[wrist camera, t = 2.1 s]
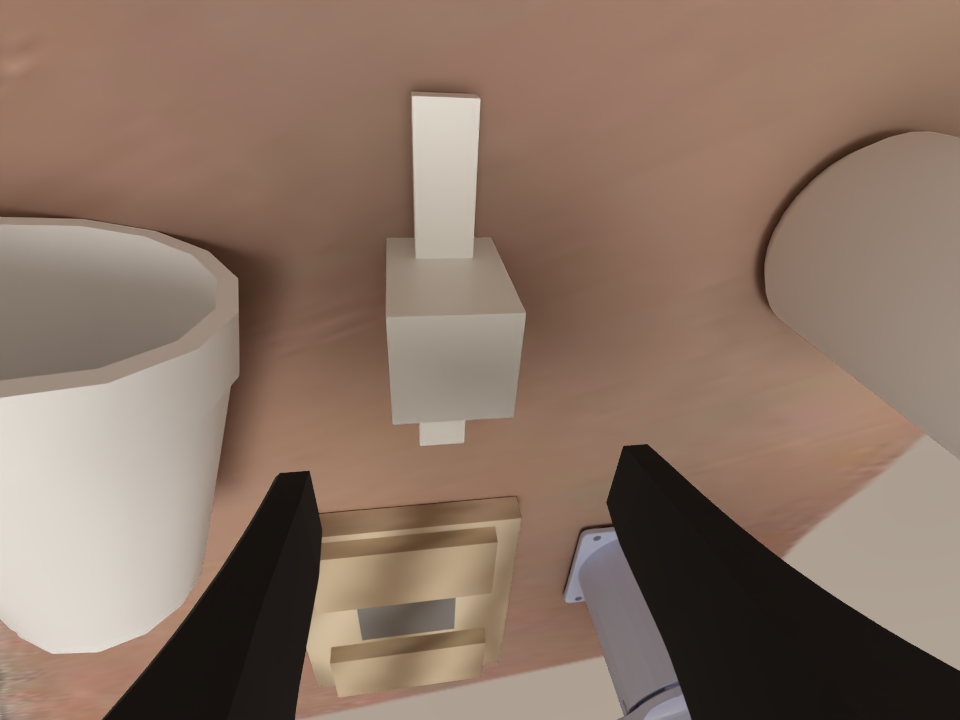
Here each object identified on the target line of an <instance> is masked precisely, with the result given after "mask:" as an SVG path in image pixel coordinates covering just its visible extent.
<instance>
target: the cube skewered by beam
mask: <svg viewBox="0 0 960 720" xmlns="http://www.w3.org/2000/svg"><path fill="white" fill-rule="evenodd" d="M479 118H480V98H479V97H478V96H477V95H476V94H459V93H435V92H411V125H412V167H413V208H414V238H387V244H386V328H387V344H388V359H389V374H390V390H391V405H392V421H393V425H397V424H413V423H419V439H420V446H426V445H441V444H455V443H464V433H465V420H477V419H493V418H509V417H514V409H515V401H516V392H517V384H518V376H519V368H520V360H521V351H522V343H523V335H524V327H525V319H526V312H525V309H524V307H523V305H522V303H521V301H520V299H519V297H518V294H517V292H516V290H515V288H514V286H513V284H512V281H511V279H510V277H509V275H508V273H507V271H506V268H505V266H504V264H503V262H502V260H501V258H500V255H499V253H498V251H497V249H496V247H495V245H494V242H493V240H492V238H491V237H474V223H475V202H476V181H477V160H478V139H479Z"/></svg>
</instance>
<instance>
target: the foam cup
mask: <svg viewBox="0 0 960 720" xmlns="http://www.w3.org/2000/svg"><path fill="white" fill-rule="evenodd" d="M238 377H239V294H238V278H237V277H236V276H235V275H234V274H233V273H232V272H231V271H230V270H229V269H227V268H226V267H225V266H224V265H223V264H222V263H221V262H220V261H219V260H218V259H216V258H215V257H214V256H213V255H212V254H211V253H210V252H209V251H207V250H204V249H202V248H199V247H196V246H194V245H191V244H189V243H186V242H183V241H181V240H178V239H175V238H173V237H170V236H168V235H165V234H162V233H160V232H157V231H153V230H147V229H141V228H135V227H129V226H123V225H117V224H111V223H105V222H99V221H93V220H87V219H65V218H22V217H0V619H1V620H2V621H3V622H4V623H5V624H6V625H7V626H8V627H9V628H10V629H11V630H13V631H15V632H17V634H18V636H19V637H20V638H22V639H24V640H26V641H28V642H30V643H32V644H34V645H36V646H38V647H40V648H42V649H44V650H46V651H48V652H50V653H52V654H56V653H86V652H100V651H103V650H106V649H108V648H111V647H113V646H116V645H118V644H121V643H123V642H126V641H129V640H131V639H134V638H136V637H139V636H141V635H144V634H146V633H148V632H149V631H150V630H151V629H153V628H154V627H155V626H156V625H158V624H159V623H160V622H161V621H163V620H164V619H165V618H166V617H168V616H169V615H170V614H171V613H173V612H174V611H175V610H176V609H178V608H179V607H180V606H181V605H183V603H184V601H185V600H186V598H187V596H188V595H189V593H190V592H191V590H192V588H193V587H194V585H195V583H196V582H197V580H198V578H199V577H200V575H201V573H202V566H203V564H204V559H205V552H206V546H207V539H208V533H209V526H210V520H211V513H212V507H213V500H214V493H215V487H216V480H217V474H218V467H219V461H220V454H221V448H222V441H223V434H224V428H225V421H226V415H227V408H228V402H229V395H230V389H231V385H232V384H233V383H234V382H235V381H236V379H237V378H238Z"/></svg>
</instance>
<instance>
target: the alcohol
mask: <svg viewBox="0 0 960 720" xmlns="http://www.w3.org/2000/svg"><path fill="white" fill-rule="evenodd" d="M764 274H765V289H766V296H767V299H768V302H769V305H770V308H771V309H772V311H773V312H774V314H775V315H776V317H777V318H778V319H779V320H781V321H782V322H783V323H785V324H786V325H787V326H788V327H790V328H791V329H792V330H794V331H795V332H796V333H797V334H799V335H800V336H801V337H803V338H804V339H805V340H806V341H808V342H809V343H810V344H811V345H813V346H814V347H815V348H817V349H818V350H819V351H820V352H822V353H823V354H824V355H826V356H827V357H828V358H829V359H831V360H832V361H833V362H835V363H836V364H837V365H838V366H840V367H841V368H842V369H844V370H845V371H846V372H847V373H849V374H850V375H851V376H853V377H854V378H855V379H856V380H858V381H859V382H860V383H862V384H863V385H864V386H865V387H867V388H868V389H869V390H871V391H872V392H873V393H874V394H876V395H877V396H878V397H880V398H881V399H882V400H883V401H885V402H886V403H887V404H889V405H890V406H891V407H892V408H894V409H895V410H896V411H897V412H899V413H900V414H901V415H903V416H904V417H905V418H906V419H908V420H909V421H910V422H912V423H913V424H914V425H915V426H917V427H918V428H919V429H921V430H922V431H923V432H924V433H926V434H927V435H928V436H930V437H931V438H932V439H933V440H935V441H936V442H937V443H939V444H940V445H941V446H942V447H944V448H945V449H946V450H948V451H949V452H950V453H951V454H953V455H954V456H955V457H957V458H958V459H959V460H960V137H955V136H951V135H946V134H941V133H937V132H932V131H926V132H908V133H904V134H900V135H896V136H892V137H888V138H886V139H883V140H881V141H878V142H876V143H874V144H871V145H869V146H867V147H864V148H862V149H860V150H857V151H855V152H853V153H850V154H848V155H846V156H845V157H843V158H841V159H840V160H838V161H836V162H835V163H833V164H832V165H830V166H828V167H827V168H826V169H825V170H824V171H822V172H821V173H820V174H819V175H817V176H816V177H815V178H814V179H812V180H811V181H810V182H809V183H808V184H807V185H806V186H805V188H804V189H803V190H802V191H801V192H800V193H799V194H798V195H797V196H796V197H795V198H794V200H793V201H792V202H791V204H790V205H789V206H788V208H787V209H786V211H785V212H784V213H783V215H782V217H781V218H780V220H779V222H778V224H777V226H776V227H775V229H774V231H773V234H772V236H771V239H770V242H769V244H768V247H767V251H766V257H765V262H764Z"/></svg>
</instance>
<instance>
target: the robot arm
mask: <svg viewBox="0 0 960 720" xmlns="http://www.w3.org/2000/svg"><path fill="white" fill-rule="evenodd" d="M606 503H607V506H608V509H609V513H610V516H611V519H612V523H613V526H614V527H608V528H598V529H588V530H585V531H583V532H582V533H581V535H580V538H579V542H578V545H577V549H576V553H575V556H574V560H573V563H572V567H571V571H570V574H569V578H568V582H567V585H566V589H565V592H564V600H565V602H567V603H574V602H582V601H586V604H587V607H588V610H589V613H590V616H591V619H592V622H593V625H594V628H595V631H596V634H597V637H598V640H599V643H600V646H601V649H602V652H603V655H604V658H605V661H606V663H607V667H608V670H609V672H610V676H611V678H612V682H613V685H614V687H615V690H616V693H617V696H618V699H619V702H620V705H621V708H622V711H623V714H624V717H622V718H620V719H618V720H960V671H959V670H957V669H955V668H953V667H952V666H950V665H948V664H946V663H944V662H943V661H941V660H939V659H937V658H936V657H934V656H932V655H930V654H928V653H927V652H925V651H923V650H921V649H919V648H918V647H916V646H914V645H912V644H910V643H909V642H907V641H905V640H904V639H902V638H900V637H899V636H897V635H895V634H894V633H892V632H890V631H888V630H887V629H885V628H883V627H881V626H880V625H879V624H877V623H875V622H874V621H872V620H871V619H869V618H867V617H866V616H864V615H863V614H861V613H859V612H858V611H856V610H855V609H853V608H852V607H850V606H848V605H847V604H845V603H843V602H842V601H841V600H839V599H837V598H836V597H834V596H833V595H832V594H830V593H828V592H827V591H826V590H824V589H822V588H821V587H820V586H818V585H817V584H815V583H814V582H813V581H811V580H810V579H808V578H807V577H806V576H804V575H803V574H801V573H800V572H798V571H797V570H796V569H794V568H793V567H791V566H790V565H789V564H787V563H786V562H784V561H783V560H782V559H781V558H779V557H778V556H777V555H775V554H774V553H773V552H771V551H770V550H769V549H768V548H766V547H765V546H764V545H763V544H761V543H760V542H759V541H757V540H756V539H755V538H754V537H752V536H751V535H750V534H749V533H747V532H746V531H745V530H744V529H742V528H741V527H740V526H739V525H738V524H736V523H735V522H734V521H733V520H732V519H730V518H729V517H728V516H727V515H726V514H725V513H723V512H722V511H721V510H720V509H719V508H718V507H717V506H715V505H714V504H713V503H712V502H711V501H710V500H708V499H707V498H706V497H705V496H704V495H703V494H702V493H701V492H700V491H698V490H697V489H696V488H695V487H694V486H693V485H692V484H691V483H690V482H688V481H687V480H686V479H685V478H684V477H683V476H682V475H681V474H680V473H679V472H677V471H676V470H675V469H674V468H673V467H672V466H671V465H670V464H669V463H668V462H667V461H665V460H664V459H663V458H662V457H661V456H660V455H659V454H658V453H657V452H656V451H654V450H653V449H652V448H651V447H650V446H649V445H648V444H644V445H631V446H623V449H622V452H621V456H620V459H619V462H618V466H617V469H616V472H615V476H614V479H613V482H612V486H611V489H610V492H609V496H608V499H607V502H606ZM321 544H322V526H321V521H320V517H319V512H318V508H317V503H316V498H315V494H314V489H313V485H312V480H311V476H310V471H302V472H289V473H280V474H279V475H278V476H276V477H275V479H274V481H273V483H272V485H271V487H270V489H269V491H268V492H267V494H266V496H265V498H264V500H263V501H262V503H261V505H260V507H259V508H258V510H257V512H256V514H255V515H254V517H253V519H252V520H251V522H250V524H249V525H248V527H247V529H246V530H245V532H244V534H243V535H242V537H241V538H240V540H239V541H238V543H237V544H236V546H235V548H234V549H233V551H232V552H231V554H230V555H229V557H228V558H227V560H226V562H225V563H224V565H223V566H222V568H221V569H220V571H219V572H218V574H217V575H216V576H215V578H214V579H213V581H212V582H211V584H210V585H209V586H208V588H207V589H206V591H205V592H204V593H203V595H202V596H201V598H200V599H199V600H198V602H197V603H196V605H195V606H194V607H193V609H192V610H191V612H190V613H189V614H188V616H187V617H186V618H185V620H184V621H183V622H182V624H181V625H180V626H179V628H178V629H177V630H176V632H175V633H174V634H173V635H172V637H171V638H170V639H169V641H168V642H167V643H166V644H165V646H164V647H163V648H162V649H161V651H160V652H159V653H158V654H157V656H156V657H155V658H154V659H153V661H152V662H151V663H150V664H149V665H148V667H147V668H146V669H145V670H144V672H143V673H142V674H141V675H140V676H139V677H138V679H137V680H136V681H135V682H134V683H133V684H132V686H131V687H130V688H129V689H128V690H127V691H126V693H125V694H124V695H123V696H122V697H121V698H120V700H119V701H118V702H117V703H116V704H115V705H114V706H113V708H112V709H111V710H110V711H109V712H108V713H107V715H106V716H105V717H104V718H103V719H102V720H295V713H296V705H297V699H298V692H299V685H300V680H301V674H302V669H303V663H304V658H305V652H306V647H307V641H308V636H309V630H310V625H311V619H312V614H313V608H314V603H315V597H316V592H317V586H318V580H319V572H320V559H321Z"/></svg>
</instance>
